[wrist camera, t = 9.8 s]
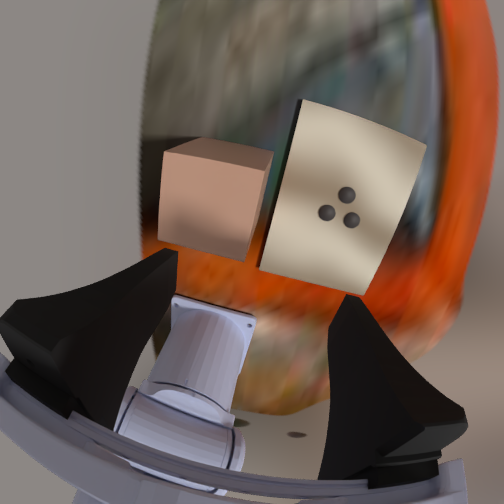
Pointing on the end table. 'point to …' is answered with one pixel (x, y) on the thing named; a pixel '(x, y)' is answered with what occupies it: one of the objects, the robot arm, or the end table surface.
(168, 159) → the salmon cube
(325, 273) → the birch board
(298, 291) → the end table surface
